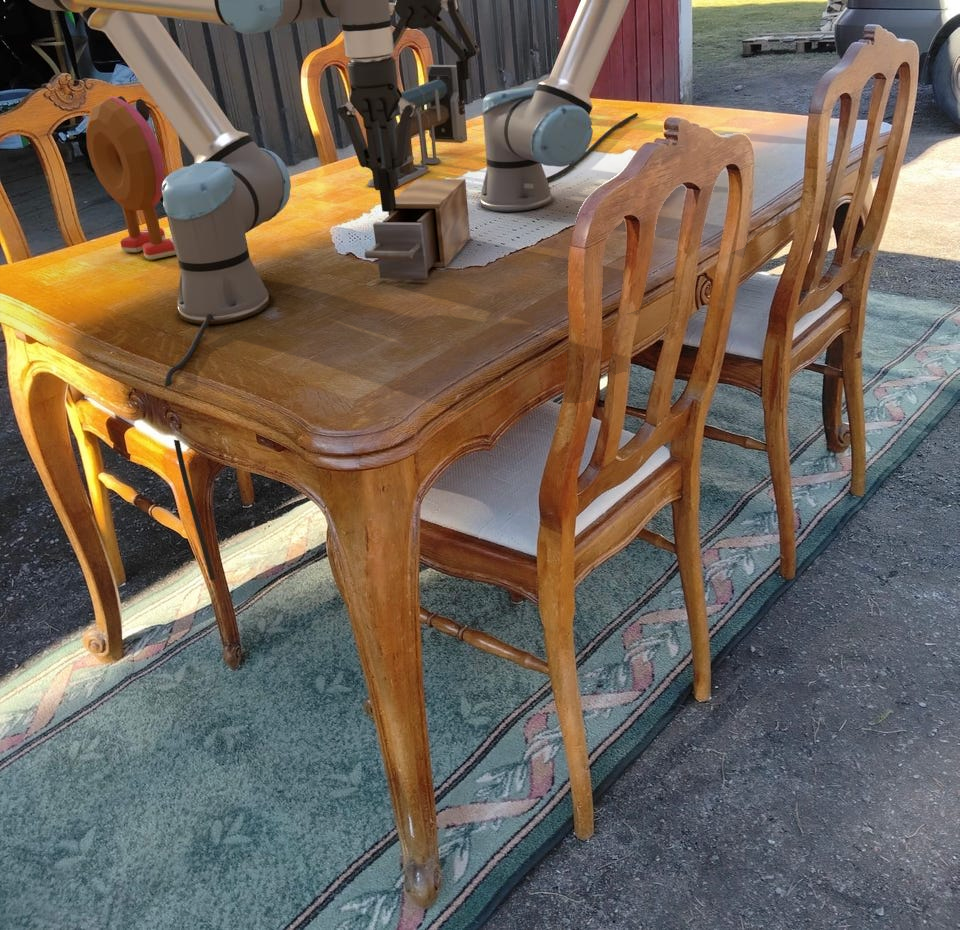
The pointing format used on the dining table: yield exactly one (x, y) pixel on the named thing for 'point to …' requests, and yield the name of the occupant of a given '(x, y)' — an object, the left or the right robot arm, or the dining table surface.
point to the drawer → (406, 244)
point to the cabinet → (441, 212)
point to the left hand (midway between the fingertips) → (389, 209)
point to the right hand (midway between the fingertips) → (427, 100)
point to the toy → (130, 170)
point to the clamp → (431, 119)
